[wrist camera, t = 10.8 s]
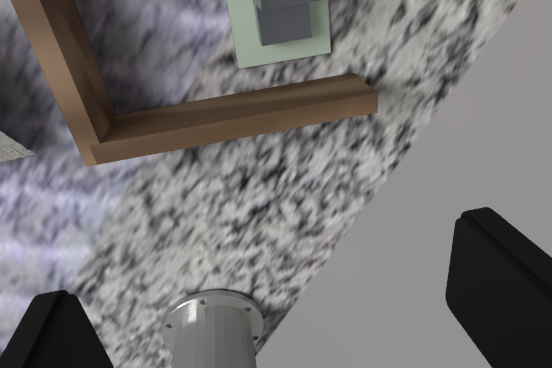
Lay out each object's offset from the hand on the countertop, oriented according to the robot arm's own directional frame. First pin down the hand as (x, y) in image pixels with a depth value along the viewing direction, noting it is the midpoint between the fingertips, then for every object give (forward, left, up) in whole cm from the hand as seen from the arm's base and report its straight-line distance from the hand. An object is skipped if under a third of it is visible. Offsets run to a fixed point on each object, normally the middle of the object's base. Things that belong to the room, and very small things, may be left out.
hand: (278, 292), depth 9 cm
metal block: (+4, -5, -26) cm, 27 cm away
